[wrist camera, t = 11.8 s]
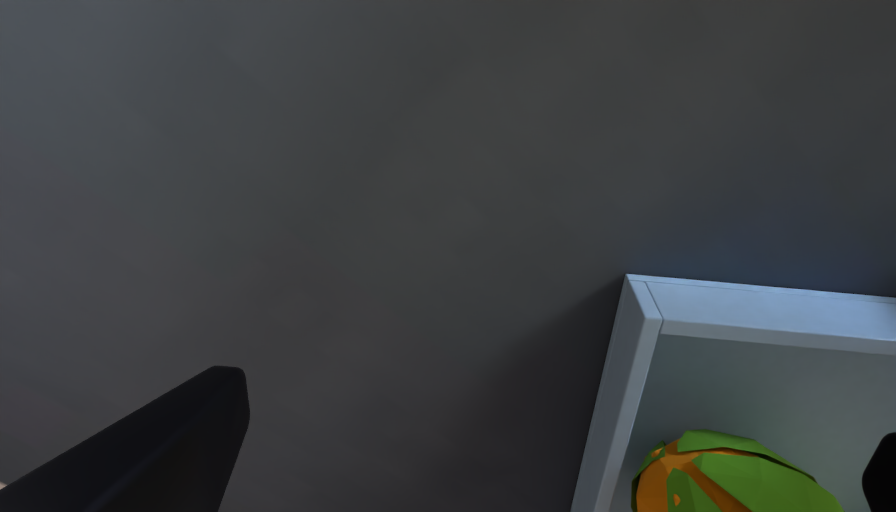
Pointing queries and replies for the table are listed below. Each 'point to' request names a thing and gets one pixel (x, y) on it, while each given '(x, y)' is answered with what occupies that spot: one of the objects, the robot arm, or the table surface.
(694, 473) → the corn
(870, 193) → the table surface
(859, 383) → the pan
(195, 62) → the table surface
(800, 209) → the table surface
